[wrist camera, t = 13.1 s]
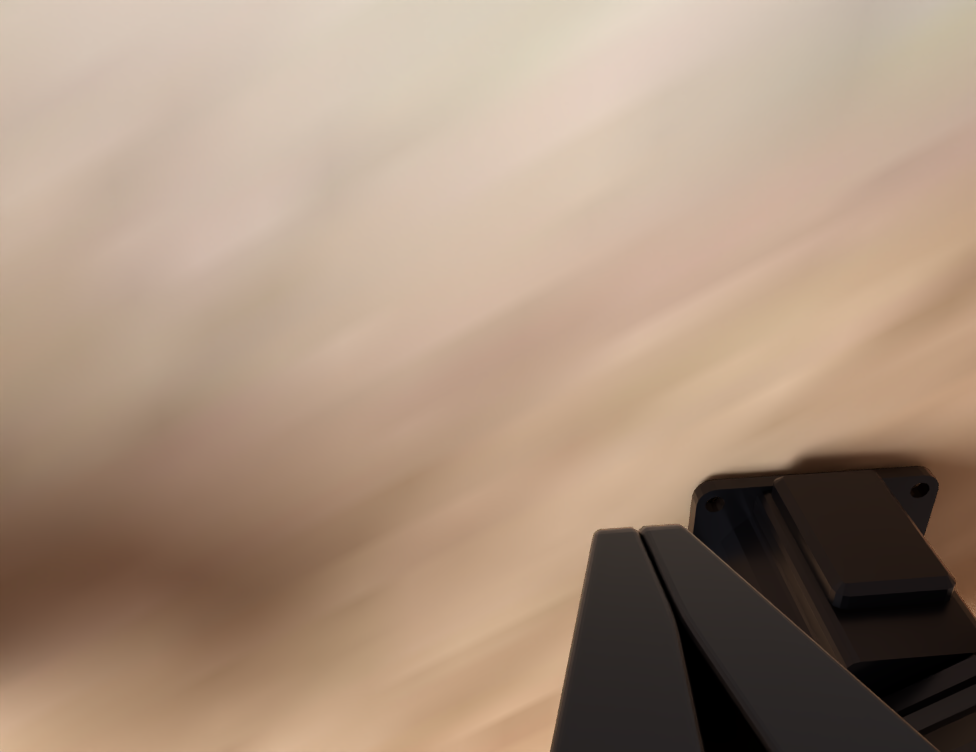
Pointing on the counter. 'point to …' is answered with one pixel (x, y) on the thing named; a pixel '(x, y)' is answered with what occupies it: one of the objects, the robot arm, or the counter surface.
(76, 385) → the counter surface
